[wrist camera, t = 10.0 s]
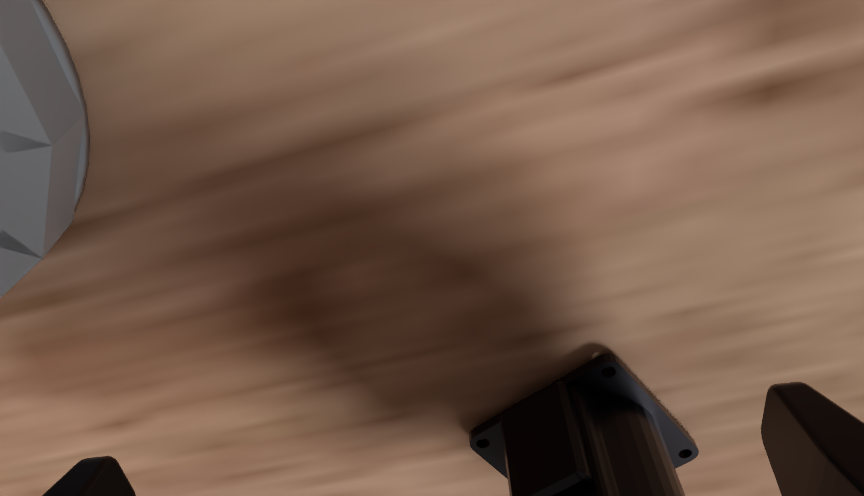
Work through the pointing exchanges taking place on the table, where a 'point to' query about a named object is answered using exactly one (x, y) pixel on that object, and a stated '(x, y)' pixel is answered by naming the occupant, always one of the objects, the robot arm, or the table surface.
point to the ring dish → (37, 137)
